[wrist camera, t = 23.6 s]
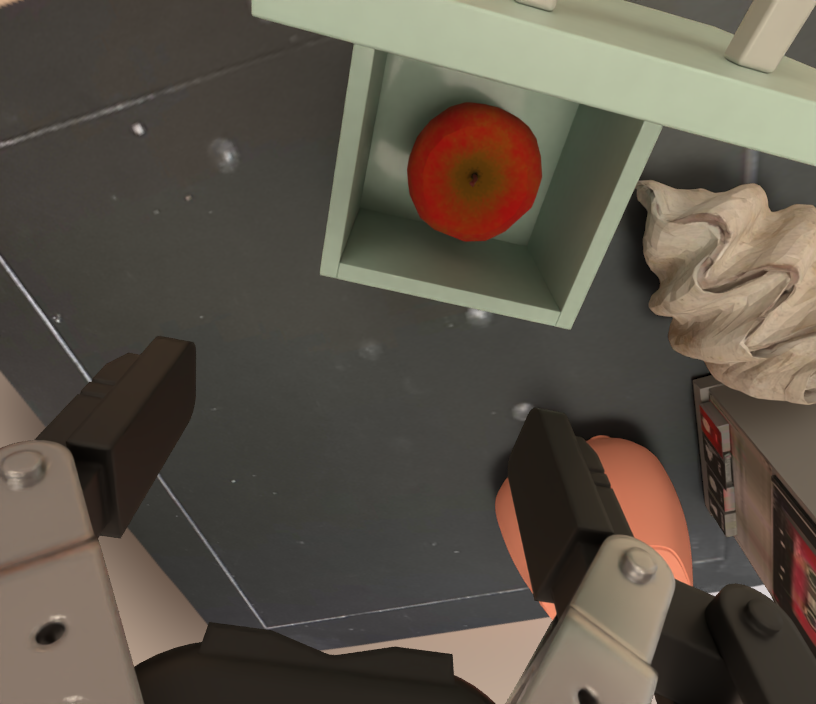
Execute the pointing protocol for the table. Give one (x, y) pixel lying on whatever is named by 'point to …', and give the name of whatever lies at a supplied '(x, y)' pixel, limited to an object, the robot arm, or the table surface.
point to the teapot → (639, 499)
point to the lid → (602, 58)
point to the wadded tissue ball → (736, 285)
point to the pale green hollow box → (505, 253)
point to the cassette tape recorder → (764, 489)
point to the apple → (474, 171)
